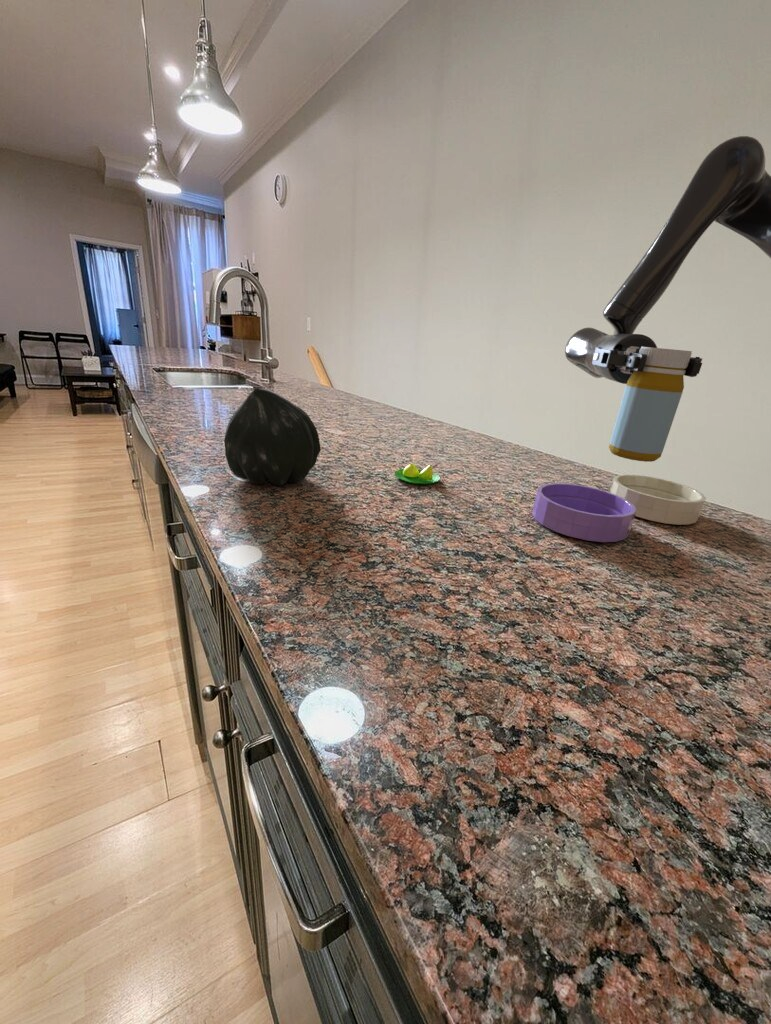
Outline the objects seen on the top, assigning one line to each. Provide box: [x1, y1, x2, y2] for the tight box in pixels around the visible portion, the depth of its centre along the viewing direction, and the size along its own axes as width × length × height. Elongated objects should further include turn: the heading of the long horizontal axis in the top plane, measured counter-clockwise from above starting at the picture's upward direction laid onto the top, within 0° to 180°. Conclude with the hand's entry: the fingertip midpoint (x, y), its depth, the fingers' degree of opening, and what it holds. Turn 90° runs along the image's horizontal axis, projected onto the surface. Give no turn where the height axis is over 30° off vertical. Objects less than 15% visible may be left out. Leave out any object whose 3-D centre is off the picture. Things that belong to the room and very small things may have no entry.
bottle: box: [608, 347, 693, 463], centre depth 63 cm, size 7×7×15 cm
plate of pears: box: [393, 462, 441, 486], centre depth 78 cm, size 8×8×3 cm
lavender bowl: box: [531, 482, 636, 543], centre depth 65 cm, size 13×13×4 cm
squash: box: [223, 387, 322, 486], centre depth 70 cm, size 14×15×15 cm
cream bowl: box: [608, 474, 707, 526], centre depth 73 cm, size 13×13×4 cm
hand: (669, 365), depth 59 cm, fingers closed on bottle, 6 cm apart
